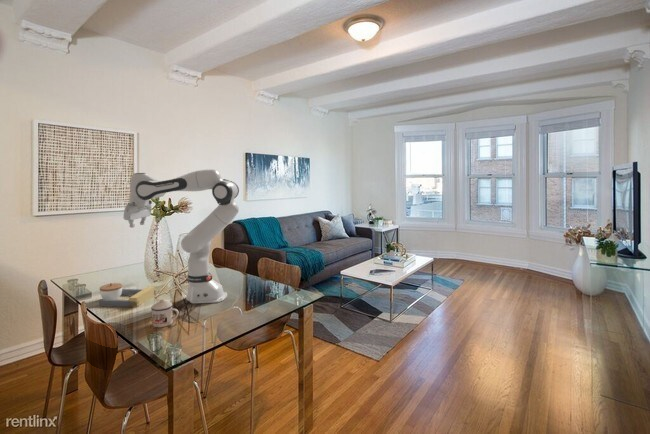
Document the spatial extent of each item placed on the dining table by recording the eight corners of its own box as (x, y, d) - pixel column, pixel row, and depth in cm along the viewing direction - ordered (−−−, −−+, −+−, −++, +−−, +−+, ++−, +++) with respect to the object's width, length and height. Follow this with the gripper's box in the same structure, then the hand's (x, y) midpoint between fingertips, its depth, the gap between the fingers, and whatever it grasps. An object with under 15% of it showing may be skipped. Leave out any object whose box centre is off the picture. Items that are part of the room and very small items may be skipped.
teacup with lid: (148, 328, 155) (147, 303, 153) (157, 319, 164) (156, 296, 162) (175, 327, 155) (174, 303, 154) (182, 319, 164) (181, 296, 163)
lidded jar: (99, 298, 189) (98, 282, 188) (122, 294, 196) (121, 279, 194) (101, 304, 181) (99, 287, 179) (124, 300, 187) (123, 284, 186)
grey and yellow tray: (155, 294, 196) (155, 286, 196) (137, 306, 178) (136, 297, 178) (120, 293, 197) (120, 285, 196) (98, 305, 179) (98, 296, 179)
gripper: (132, 204, 176) (131, 229, 178) (154, 200, 196) (152, 223, 198) (120, 202, 176) (119, 228, 178) (143, 199, 196) (142, 222, 198)
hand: (137, 225), depth 188 cm, fingers open, 8 cm apart
